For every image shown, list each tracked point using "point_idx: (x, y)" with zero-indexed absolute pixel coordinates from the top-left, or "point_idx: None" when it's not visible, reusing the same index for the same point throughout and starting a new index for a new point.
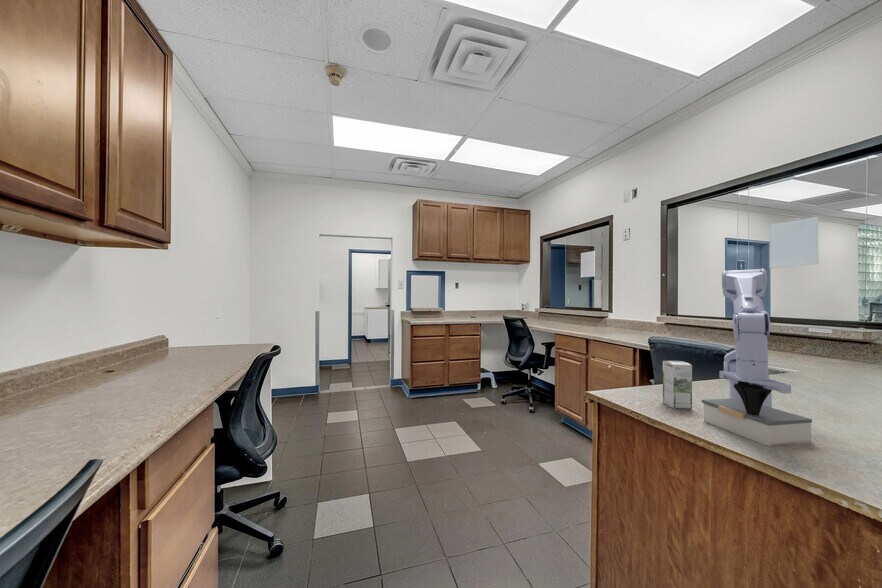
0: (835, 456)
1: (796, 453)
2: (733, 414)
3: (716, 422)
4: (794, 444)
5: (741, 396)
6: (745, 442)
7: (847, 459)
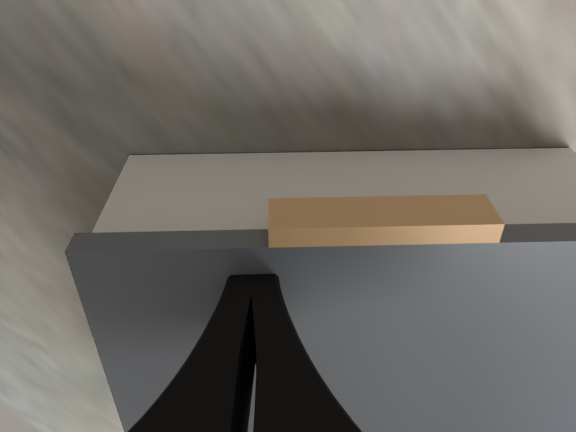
0: (35, 333)
1: (49, 209)
2: (348, 206)
3: (482, 162)
4: None
5: (306, 384)
6: (202, 70)
7: (8, 345)
